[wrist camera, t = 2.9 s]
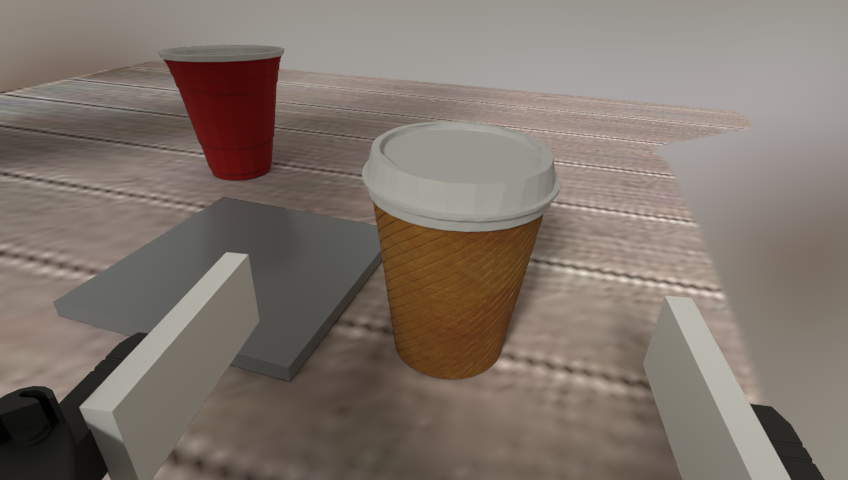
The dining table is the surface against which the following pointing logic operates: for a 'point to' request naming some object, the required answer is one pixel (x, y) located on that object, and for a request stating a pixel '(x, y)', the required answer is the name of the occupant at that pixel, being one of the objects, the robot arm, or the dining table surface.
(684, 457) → the robot arm
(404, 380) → the dining table surface
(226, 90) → the plastic cup
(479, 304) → the disposable coffee cup
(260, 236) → the slate board
